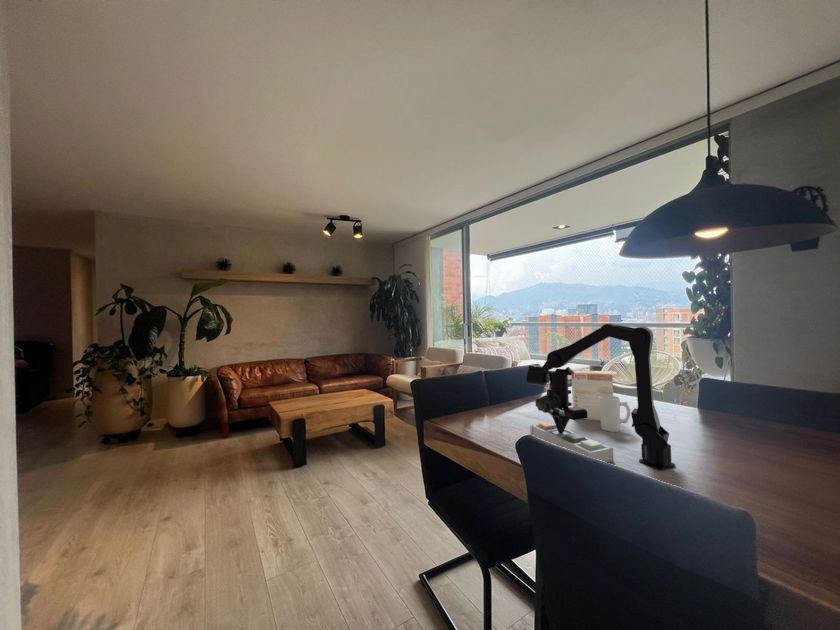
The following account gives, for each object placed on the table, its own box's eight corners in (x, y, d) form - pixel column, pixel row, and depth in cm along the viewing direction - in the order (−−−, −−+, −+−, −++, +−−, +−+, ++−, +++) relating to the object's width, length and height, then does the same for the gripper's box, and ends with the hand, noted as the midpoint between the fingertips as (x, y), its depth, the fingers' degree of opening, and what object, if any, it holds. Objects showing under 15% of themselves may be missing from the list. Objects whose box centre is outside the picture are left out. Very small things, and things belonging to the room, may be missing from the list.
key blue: (570, 441, 115) (570, 433, 115) (560, 443, 114) (559, 435, 114) (561, 437, 119) (561, 430, 119) (551, 438, 118) (551, 431, 118)
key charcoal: (585, 444, 109) (585, 436, 109) (574, 446, 108) (574, 438, 108) (575, 440, 113) (575, 432, 113) (565, 442, 112) (564, 434, 112)
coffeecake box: (614, 418, 142) (612, 371, 142) (613, 423, 136) (612, 373, 136) (575, 413, 150) (573, 369, 150) (572, 418, 144) (571, 371, 144)
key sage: (602, 451, 103) (602, 443, 103) (591, 454, 101) (591, 446, 101) (591, 447, 107) (590, 439, 107) (580, 449, 105) (580, 441, 105)
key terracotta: (556, 431, 121) (556, 424, 121) (546, 433, 120) (546, 426, 120) (548, 428, 125) (548, 421, 125) (538, 429, 124) (538, 423, 124)
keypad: (613, 461, 102) (613, 447, 102) (589, 466, 99) (589, 453, 99) (550, 432, 128) (550, 422, 128) (530, 436, 125) (530, 425, 125)
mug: (599, 430, 128) (598, 398, 128) (600, 425, 134) (599, 394, 134) (631, 434, 123) (630, 401, 123) (630, 428, 129) (629, 397, 129)
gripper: (522, 384, 123) (523, 428, 123) (559, 395, 105) (561, 446, 105) (547, 381, 126) (549, 423, 126) (587, 391, 109) (589, 440, 109)
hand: (560, 433), depth 116 cm, fingers closed, pressing on key blue
